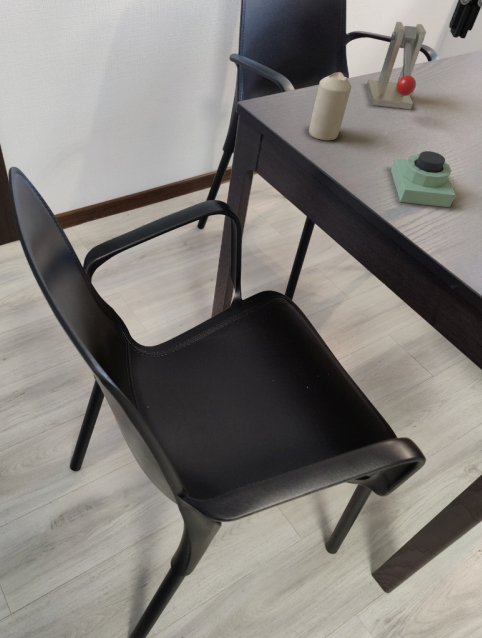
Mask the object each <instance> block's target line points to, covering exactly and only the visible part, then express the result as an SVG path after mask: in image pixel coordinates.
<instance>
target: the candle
mask: <svg viewBox="0 0 482 638" xmlns="http://www.w3.org/2000/svg"><path fill="white" fill-rule="evenodd" d="M351 90H352V85H351V83H350V80H349V79H348V77H345V75H344V74H343V73H342V72H340V71H338V72H333V73H332V74H330V75H327V76H326V77H323V78H322V79H321V80H319V84H318V87H317V93H316V97H315V100H314V101H315V102H314V105H313V110H312V115H311V119H310V124H309V127H308V133H309V135H310V136H311V137H313V138H315V139H317V140H321V141H333V140H335V139H336V140H337V138H338V136H339V133H340V131H341V127H342V124H343V120H344V116H345V114H346V113H345V112H346V109H347V105H348V102H349V97H350V95H351Z"/></svg>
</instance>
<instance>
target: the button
mask: <svg viewBox="0 0 482 638" xmlns="http://www.w3.org/2000/svg"><path fill="white" fill-rule="evenodd" d="M419 154H420V155H419V157H418V160H417V162H416V167H418V168H419V169H420V170H423V171H426V172H430V173H438V172H440V171H441V169H442V167H443V165H444V162H446V158H445V157H444V155H442V154H440V153H438V152H435V151H432V150H425V151H424V150H423V151H421V152H420V153H419Z"/></svg>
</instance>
